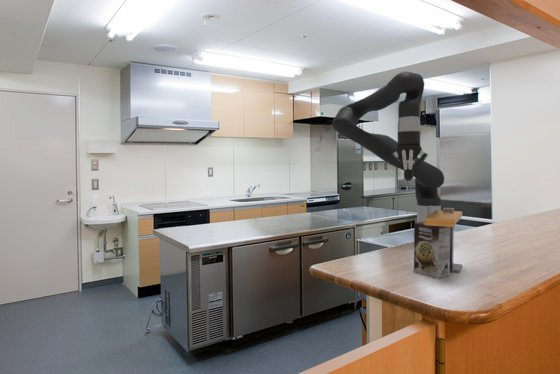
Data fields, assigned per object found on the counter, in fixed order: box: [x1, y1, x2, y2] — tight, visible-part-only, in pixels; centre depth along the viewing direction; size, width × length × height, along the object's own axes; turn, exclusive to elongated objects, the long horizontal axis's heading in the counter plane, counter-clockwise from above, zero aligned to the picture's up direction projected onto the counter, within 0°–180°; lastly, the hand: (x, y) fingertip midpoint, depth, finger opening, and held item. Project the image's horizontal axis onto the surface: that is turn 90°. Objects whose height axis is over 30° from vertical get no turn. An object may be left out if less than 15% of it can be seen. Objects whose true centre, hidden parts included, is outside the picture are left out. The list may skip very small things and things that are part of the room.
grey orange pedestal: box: [425, 207, 463, 274], centre depth 119 cm, size 8×22×20 cm, turn 148°
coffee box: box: [413, 221, 451, 279], centre depth 119 cm, size 9×6×16 cm
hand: (408, 180), depth 133 cm, fingers closed
